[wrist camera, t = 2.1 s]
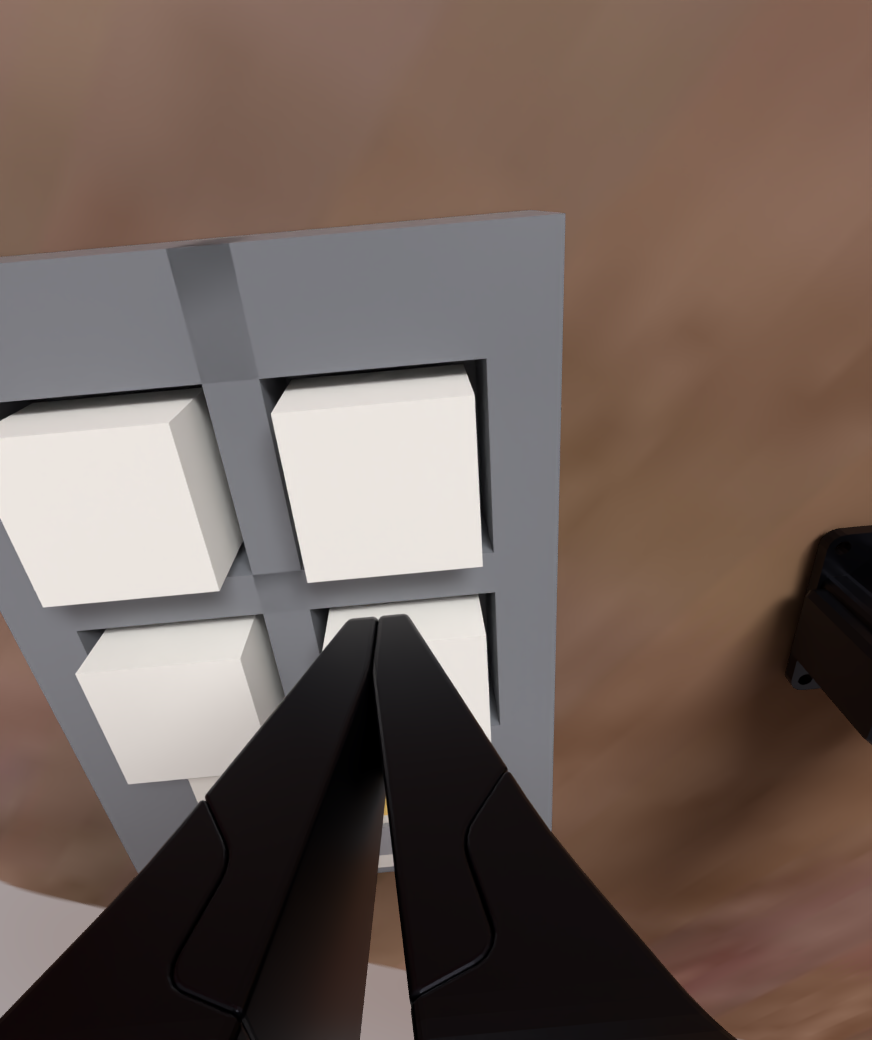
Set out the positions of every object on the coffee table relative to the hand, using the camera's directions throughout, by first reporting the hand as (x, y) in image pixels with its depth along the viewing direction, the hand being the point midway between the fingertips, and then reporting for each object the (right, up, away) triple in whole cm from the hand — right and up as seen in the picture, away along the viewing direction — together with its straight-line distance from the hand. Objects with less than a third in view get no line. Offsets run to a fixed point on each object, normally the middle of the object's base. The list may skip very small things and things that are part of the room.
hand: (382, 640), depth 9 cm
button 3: (0, +3, +6) cm, 7 cm away
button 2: (-6, -2, +9) cm, 11 cm away
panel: (-3, 0, +11) cm, 11 cm away
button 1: (-6, +3, +6) cm, 9 cm away
